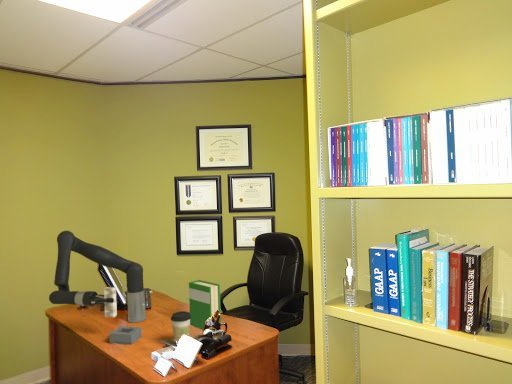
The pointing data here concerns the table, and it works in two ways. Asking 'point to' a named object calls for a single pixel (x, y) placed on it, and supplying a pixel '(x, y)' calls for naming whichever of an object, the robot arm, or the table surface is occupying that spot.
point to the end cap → (125, 335)
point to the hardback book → (203, 302)
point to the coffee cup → (180, 324)
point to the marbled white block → (110, 307)
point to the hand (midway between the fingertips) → (115, 299)
